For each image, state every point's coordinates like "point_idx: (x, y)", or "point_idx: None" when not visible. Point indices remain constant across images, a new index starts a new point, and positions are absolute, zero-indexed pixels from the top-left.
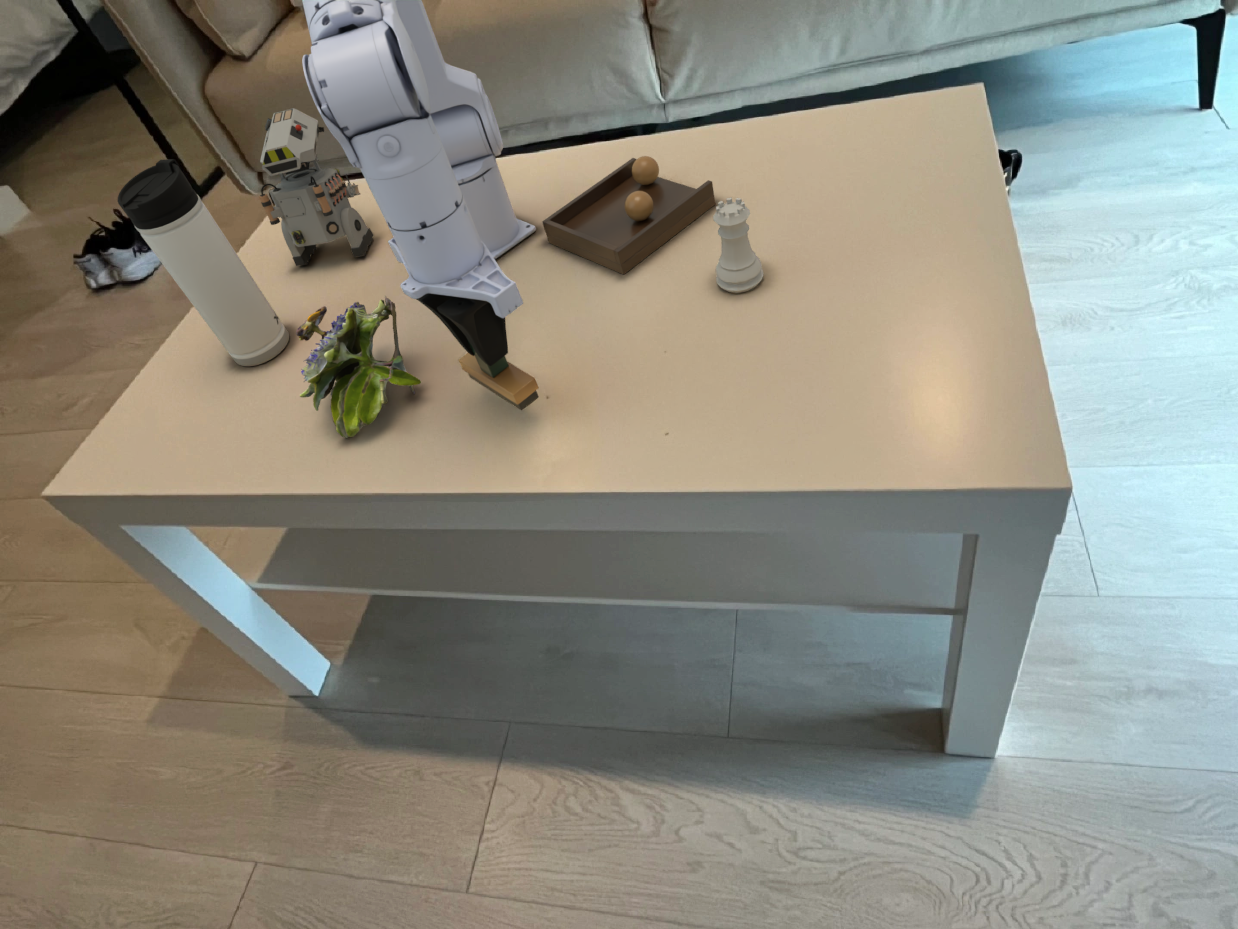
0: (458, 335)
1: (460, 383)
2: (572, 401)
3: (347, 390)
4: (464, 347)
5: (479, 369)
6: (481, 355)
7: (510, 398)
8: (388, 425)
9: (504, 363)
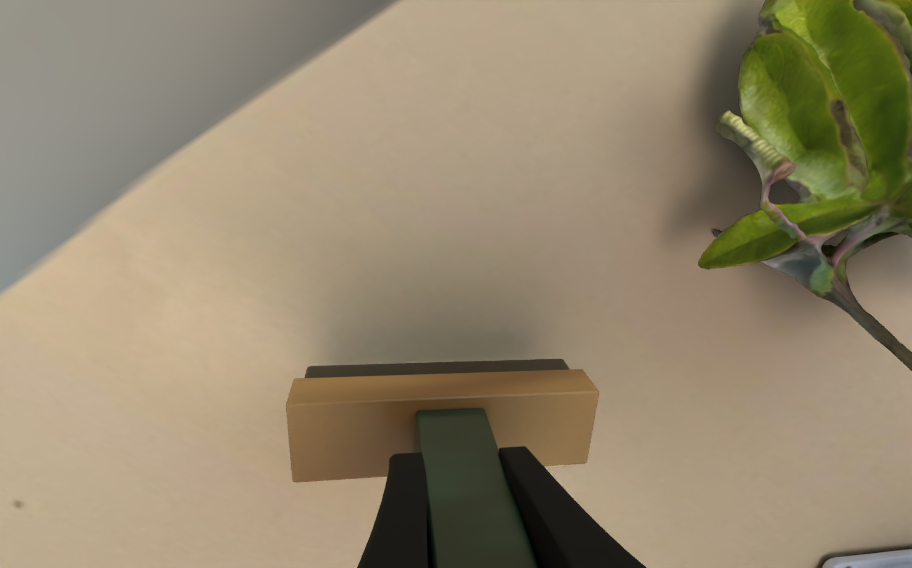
0: (538, 523)
1: (621, 325)
2: None
3: (902, 66)
4: (525, 469)
5: (493, 406)
6: (388, 493)
7: (324, 383)
8: (704, 110)
9: None
